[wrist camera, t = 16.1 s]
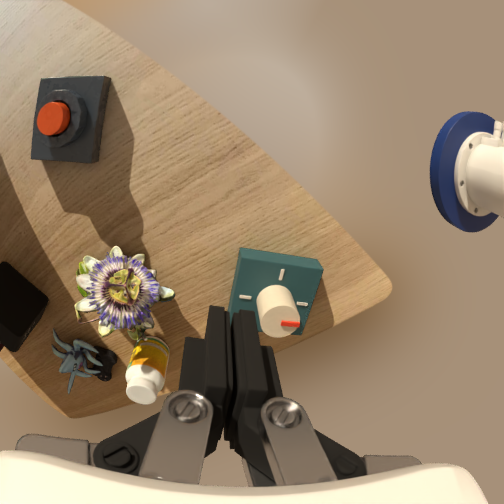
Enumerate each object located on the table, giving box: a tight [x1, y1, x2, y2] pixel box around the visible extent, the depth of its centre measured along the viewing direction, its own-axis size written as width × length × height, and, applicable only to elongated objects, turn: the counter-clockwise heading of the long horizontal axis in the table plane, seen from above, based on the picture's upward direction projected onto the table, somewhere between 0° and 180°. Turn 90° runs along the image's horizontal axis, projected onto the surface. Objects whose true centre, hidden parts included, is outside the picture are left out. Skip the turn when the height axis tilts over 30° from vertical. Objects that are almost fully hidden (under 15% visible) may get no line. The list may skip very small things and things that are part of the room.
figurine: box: [52, 328, 117, 394], centre depth 39 cm, size 10×12×8 cm
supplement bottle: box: [126, 336, 170, 405], centre depth 38 cm, size 5×5×10 cm
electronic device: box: [0, 262, 49, 352], centre depth 32 cm, size 4×10×10 cm, turn 48°
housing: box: [31, 76, 111, 163], centre depth 27 cm, size 10×9×4 cm
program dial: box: [256, 285, 300, 338], centre depth 35 cm, size 4×4×5 cm
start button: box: [37, 102, 70, 135], centre depth 24 cm, size 4×4×2 cm
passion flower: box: [75, 246, 175, 341], centre depth 34 cm, size 11×11×12 cm
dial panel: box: [228, 248, 324, 335], centre depth 38 cm, size 10×10×3 cm
